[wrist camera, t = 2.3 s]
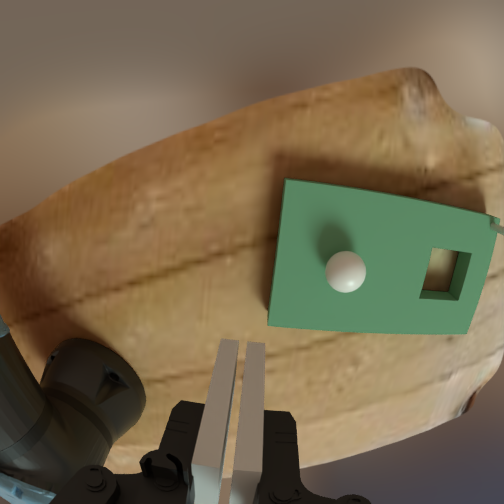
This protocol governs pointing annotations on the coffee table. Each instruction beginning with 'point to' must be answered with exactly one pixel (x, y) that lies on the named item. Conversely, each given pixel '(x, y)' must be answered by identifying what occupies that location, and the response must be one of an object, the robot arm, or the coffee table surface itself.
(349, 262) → the ball
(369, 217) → the green
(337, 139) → the coffee table surface
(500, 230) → the pin
